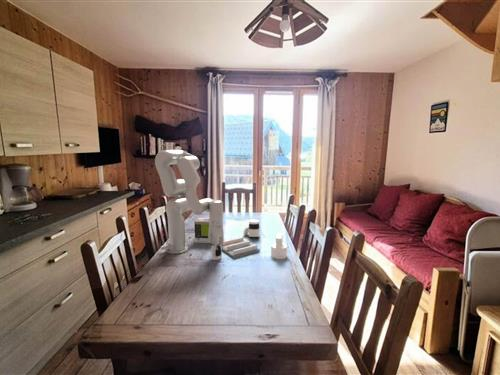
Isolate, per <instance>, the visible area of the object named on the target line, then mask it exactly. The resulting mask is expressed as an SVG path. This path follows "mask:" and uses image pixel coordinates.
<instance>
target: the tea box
mask: <svg viewBox="0 0 500 375" xmlns="http://www.w3.org/2000/svg"><path fill="white" fill-rule="evenodd" d="M193 222H194V223H193V225H194V243H196V244H212V243H211V242H210V241H209V240H208V234H209V217H198V218H197V219H196V220H194V221H193Z"/></svg>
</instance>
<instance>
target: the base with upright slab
mask: <svg viewBox="0 0 500 375" xmlns="http://www.w3.org/2000/svg"><path fill="white" fill-rule="evenodd" d="M270 249H271V250H270V251H271V252H270V254H271V256H270V257H272V258H273V259H276V260H284V259H286V258H287V256H288V245H287V244H286V243H283V233H282V232H277V234H276V237H275V242H274V243H272V244H271V248H270Z"/></svg>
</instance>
